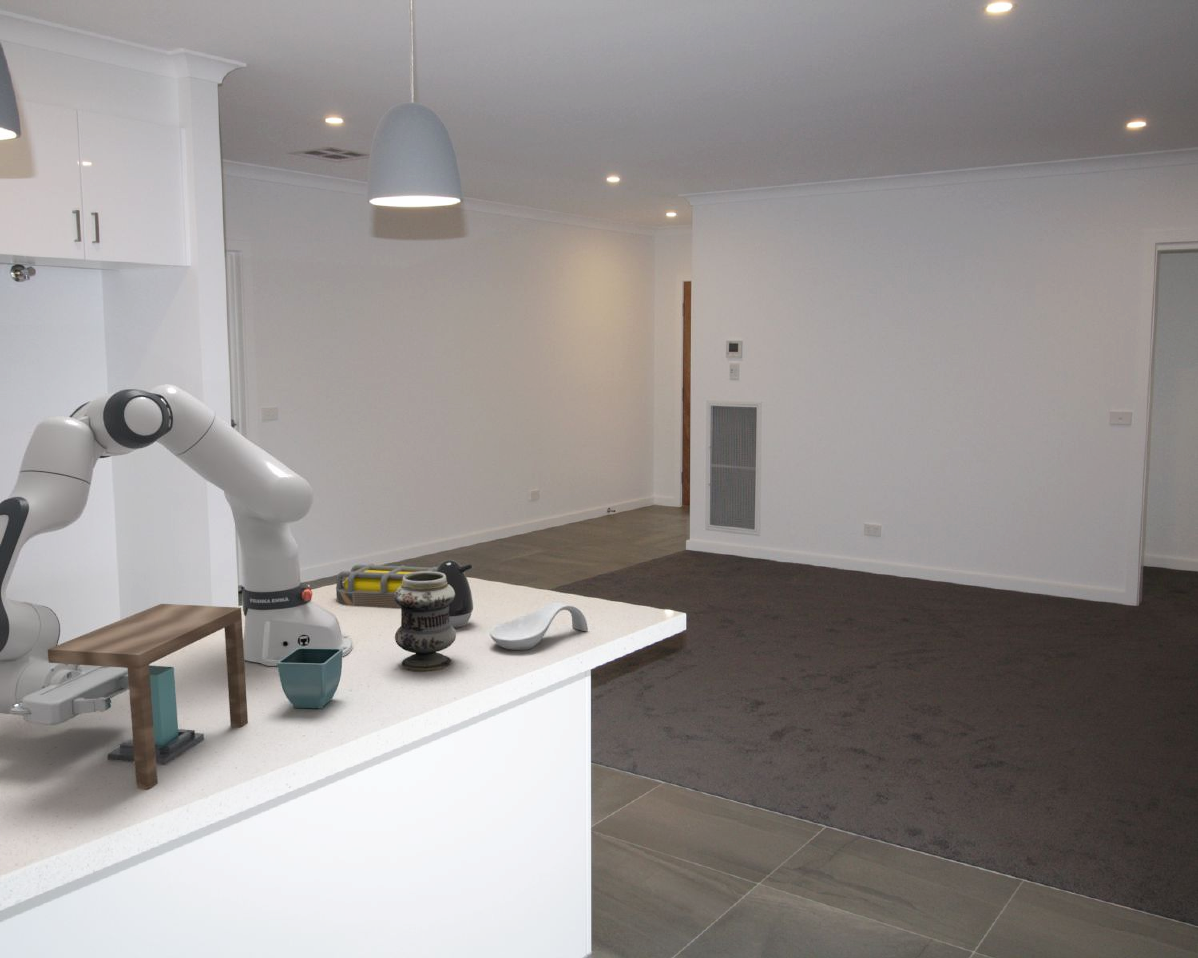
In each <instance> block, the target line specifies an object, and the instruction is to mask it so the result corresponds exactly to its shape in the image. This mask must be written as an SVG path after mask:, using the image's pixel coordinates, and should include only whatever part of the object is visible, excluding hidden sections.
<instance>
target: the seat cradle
mask: <svg viewBox="0 0 1198 958" xmlns="http://www.w3.org/2000/svg"><path fill="white" fill-rule="evenodd" d="M204 734H205V733H203V732H202V733H199V732H196V730H194V729H184V728H183V729H182V728H178V735H179V736H178V737H177V738H175V739H174V740H172V741H170V742H169V743H167V744H165V745H164V746H161V745H155V754H156V765H164V766H166V765H168V763H171V762H172V761H173V760H175V759H177V758H178V757H179V756H181V755H182V754H184V753H186V752H187V751H189V750H190V749H192V748H194V747H195V746H196V745H198V744H199V743H201V742H203V741H204V740H205V735H204ZM107 760H108V761H116V762H117V761H118V762H119V761H120V762H129V763H135V760H134V747H133V738H132V739H130V740H129V741H127V742H126V741H125V742H124V741H123V742H122V743H120V744H119V746H118V747H117V748H114V749H113V750H111V751H109V752H108V753H107Z"/></svg>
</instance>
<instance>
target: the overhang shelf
mask: <svg viewBox="0 0 1198 958" xmlns="http://www.w3.org/2000/svg"><path fill="white" fill-rule="evenodd" d="M242 618H243V617H242V607H237V606H236V607H234V606H216V605H215V606H214V605H212V606H211V605H198V604H197V605H193V604H178V603H177V604H175V603H174V604H173V603H159V604H156V605H154V606H153V607H149V608H147V609H145V610H142V611H140V612H137V613H135V614H132V615H130V616H127V617H124V618H122V619H120V620H117V621H115V622H112V623H109V624H107V625H105V626H103V627H100V628H98V629H94V630H91V631H90V632H87V633H85V634H82V635H80V636H77V637H74V638H73V639H70V640H67V641H65V642H62V643H59V644H57V646H55V647H52V648H50V649H48V661H49V663H61V664H76V665H91V666H106V667H121V668H128V681H129V689H128V690H129V694H128V695H129V703H130V706H129V707H130V716H131V717H130V718H131V719H130V720H131V730H132V731H131V732H132V733H131V734H132V739H133V747H134V760H135V762H134V771H135V783H136V784H135V785H136V789H142V790H150V789H152V788H153V787H154V786H156V785H158V770H157V769H158V768H157V767H158V766H157V764H156V754H155V740H154V726H153V712H152V699H151V685H150V671H149V665H152V663H154V662H156V661H159V660H161V659H163V658H165V657H167V656H169V655H171V654H173V653H176V652H177V651H179V650H181V649H183V648H186V647H188V646H189V645H191V644H194V643H195V642H196V643H197V642H198V641H200V640H202V639H204V638H207V637H208V636H210V635H212V634H214V633H216V632H219V631H221V630H223V629H224V638H225V639H224V642H225V655H226V657H225V658H226V659H225V660H226V673H227V689H228V690H227V691H228V706H229V707H228V708H229V721H230V727H234V728H235V727H237V728H242V727H244V726H245V725H247V724H249V720H248V719H249V717H248V703H247V688H246V687H247V684H246V682H247V681H246V668H245V667H246V665H245V660H244V648H243V637H244V631H243V619H242Z"/></svg>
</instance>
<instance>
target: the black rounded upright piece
mask: <svg viewBox="0 0 1198 958" xmlns="http://www.w3.org/2000/svg"><path fill="white" fill-rule="evenodd" d="M437 567H438V568H437V570H436V572H441V573H444V574H445V575H446V581H447V584H449V585H450V586H451V587H452V588H453V589H454V592H455V597H454V599H453V601H452V602H451V603H450V604H449V621H450V625H451V626H452V627H453V628H454V629H458V628H461V627H463V626H465V625H466V624H467V623H468V622H469V621H470V619H471V617H472V613H473V611H474V600H473V595H472V590H471V586H470V583H469V580H468V577H467V576H466V573H465V572H467V571H469V570H472V569H473V565H472V563H468V564H465V565H462V566H461V565H460V563H459V562H457V561H456V560H454V559H446V560H443V561H441V562H440V564H439V565H438V566H437Z"/></svg>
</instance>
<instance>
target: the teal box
mask: <svg viewBox="0 0 1198 958" xmlns="http://www.w3.org/2000/svg"><path fill="white" fill-rule="evenodd" d="M149 671H150V685H151V699H152V712H153V726H154V740H155V745H161V746H164V745H165V744H167V743H169V742H170V741H172V740H174V739H175V738H177V737H178V736H179V735H178V729H179V723H178V722H179V721H178V710H177V695H176V694H177V693H176V692H177V691H176V681H175V666H164V665H163V666H162V665H151V664H149Z"/></svg>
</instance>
